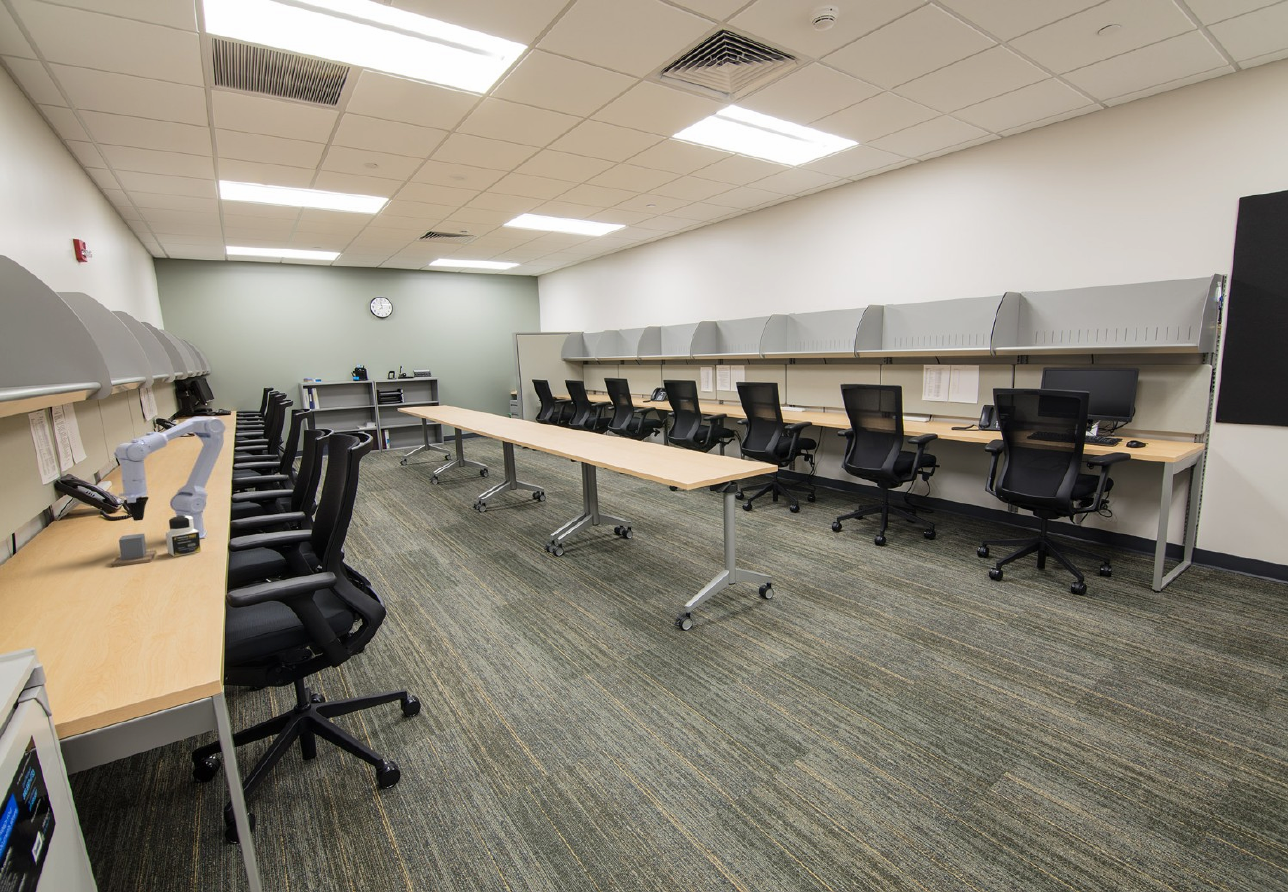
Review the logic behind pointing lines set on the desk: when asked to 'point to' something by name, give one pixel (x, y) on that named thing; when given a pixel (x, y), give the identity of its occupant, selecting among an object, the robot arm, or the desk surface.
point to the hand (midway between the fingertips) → (138, 520)
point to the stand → (147, 558)
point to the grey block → (132, 546)
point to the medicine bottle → (182, 536)
